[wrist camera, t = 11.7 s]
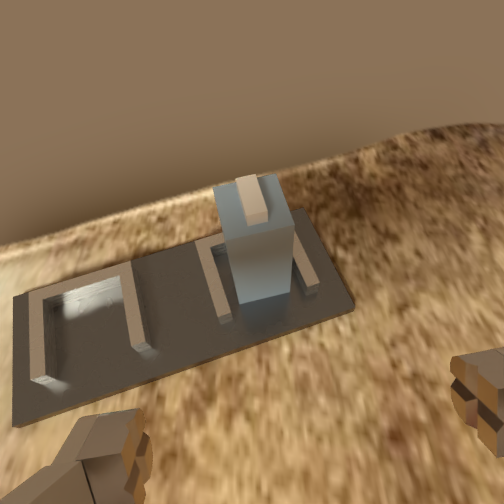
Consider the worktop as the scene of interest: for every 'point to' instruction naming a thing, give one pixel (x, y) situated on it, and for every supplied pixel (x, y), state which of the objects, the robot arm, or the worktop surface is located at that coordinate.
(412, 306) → the worktop surface
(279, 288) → the plug
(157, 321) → the panel
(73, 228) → the worktop surface
